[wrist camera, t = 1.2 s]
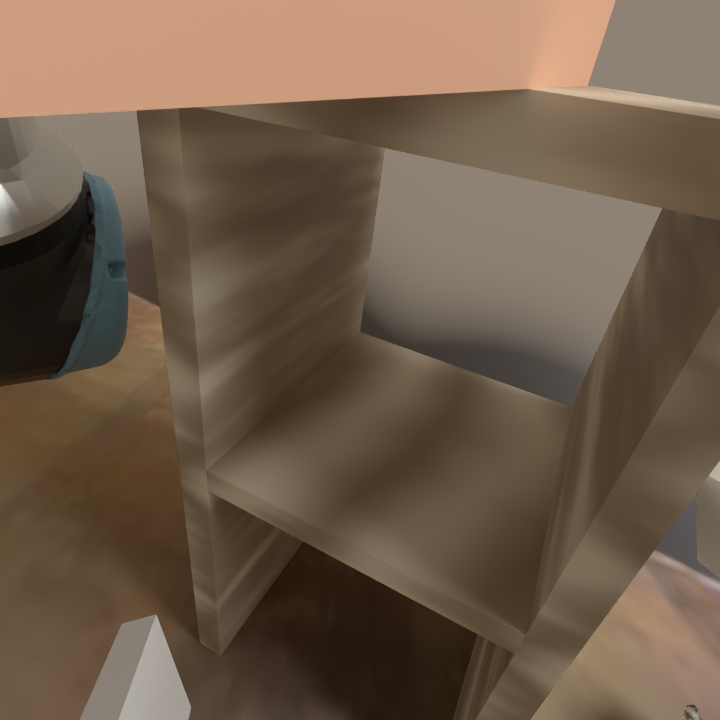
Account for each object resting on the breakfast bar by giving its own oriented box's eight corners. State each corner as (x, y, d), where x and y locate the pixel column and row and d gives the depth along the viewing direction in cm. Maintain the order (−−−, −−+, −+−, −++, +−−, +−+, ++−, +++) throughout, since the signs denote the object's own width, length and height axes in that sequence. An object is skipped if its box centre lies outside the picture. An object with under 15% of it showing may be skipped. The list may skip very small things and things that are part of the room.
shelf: (199, 642, 28) (126, 25, 12) (320, 487, 39) (368, 52, 23) (459, 815, 23) (945, 154, 7) (515, 581, 34) (755, 110, 18)
